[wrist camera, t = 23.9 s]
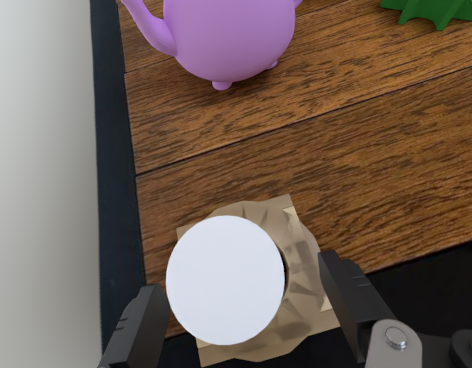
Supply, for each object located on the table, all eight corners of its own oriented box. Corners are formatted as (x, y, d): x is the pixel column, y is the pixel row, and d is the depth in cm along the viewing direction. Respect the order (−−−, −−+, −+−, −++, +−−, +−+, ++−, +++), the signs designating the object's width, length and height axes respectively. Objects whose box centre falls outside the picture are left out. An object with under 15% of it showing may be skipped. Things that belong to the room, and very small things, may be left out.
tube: (279, 255, 22) (294, 229, 8) (270, 303, 21) (271, 364, 7) (236, 245, 23) (187, 205, 9) (225, 290, 22) (148, 321, 8)
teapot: (174, 133, 29) (99, 26, 16) (142, 56, 35) (68, -67, 22) (329, 61, 30) (373, -95, 17) (272, -3, 36) (273, -155, 23)
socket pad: (342, 325, 20) (354, 334, 17) (204, 366, 20) (194, 381, 17) (290, 194, 24) (293, 184, 22) (179, 229, 25) (167, 223, 22)
